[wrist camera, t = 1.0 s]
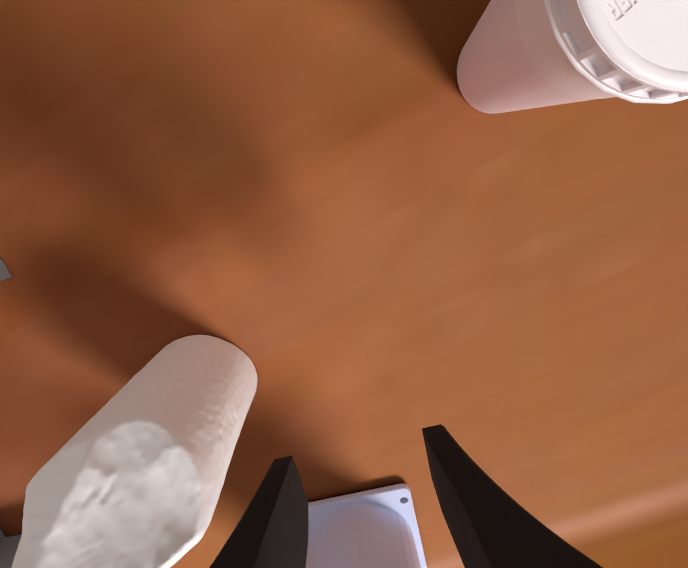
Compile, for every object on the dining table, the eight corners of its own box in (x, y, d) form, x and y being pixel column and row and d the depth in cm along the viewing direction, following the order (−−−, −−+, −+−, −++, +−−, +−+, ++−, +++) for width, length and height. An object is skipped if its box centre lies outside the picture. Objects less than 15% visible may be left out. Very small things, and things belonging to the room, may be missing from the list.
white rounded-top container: (164, 594, 8) (145, 740, 9) (265, 345, 19) (250, 428, 21) (-137, 559, 7) (-103, 721, 8) (155, 324, 18) (147, 410, 20)
